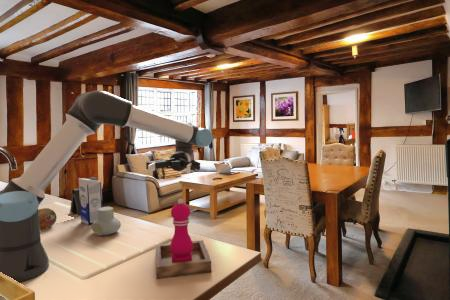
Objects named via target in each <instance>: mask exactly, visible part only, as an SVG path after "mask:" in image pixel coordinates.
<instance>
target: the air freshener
mask: <svg viewBox="0 0 450 300" xmlns="http://www.w3.org/2000/svg"><path fill="white" fill-rule="evenodd" d="M114 213H115V212H114V207H112V206H103V207H102V208H99V209H98V219H97V220H96V221H94V222H93V224H92V225H91V231H92V232H93V233H94V234H96V235H99V236H101V235H102V236H103V235H104V236H110V235H112V234H115V233H117V231H119V230H120V229H121V227H122V226H121V225H122V223H121V220H120V219H118V218H117V217H115V214H114ZM102 236H101V237H102ZM104 236H103V237H104Z"/></svg>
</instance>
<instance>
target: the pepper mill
mask: <svg viewBox="0 0 450 300" xmlns="http://www.w3.org/2000/svg"><path fill="white" fill-rule="evenodd" d="M170 214H171V217H172V218H173V219H172V224H173V227H174V233H173V237H172V239H171V242H170V243H171V244H170V251H171V252H172V253H173V255H172V262H173V263H177V262H186V261H192V254H191V252H192V250H193V243H192V241H193V240H192V238H191V236H190V234H189V231H188V230H189V229H188V227H189V226H188V225H189V224H190V218H189V217H190V215H191V208H190V206H189V205H188V204H186V203H184V199H183V198H179V199H177V203H175V204H174V205H173V206H172V207H171V210H170Z"/></svg>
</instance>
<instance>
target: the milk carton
mask: <svg viewBox="0 0 450 300" xmlns="http://www.w3.org/2000/svg"><path fill="white" fill-rule="evenodd" d="M102 185H103V184H102V181H101V180H98V178H97V177H94V176H91V177H90V178H86V177H85V178H84V177H82V178H80V177H78V188H79V194H80V210H81V215H80V222H81V224H84V225H86V226H88V227H89V226H92V224H93V222H94V221H96V220H97V219H98V209H99V208H102V207H104V206H103V191H102V189H103V187H102Z"/></svg>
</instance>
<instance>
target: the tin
mask: <svg viewBox="0 0 450 300" xmlns="http://www.w3.org/2000/svg"><path fill="white" fill-rule="evenodd" d="M38 213H39V226H40V231H41V230H45V229H46V230H47V229H49V228H51V227H52V226H54V224H55V223H56V221H57V214H56V212H55V211H54V210H53V209H51V208H49V207H48V208H47V207H44V208H38Z"/></svg>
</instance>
